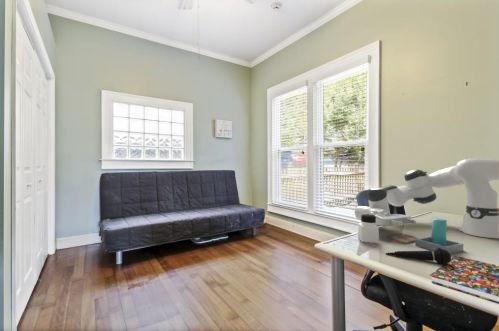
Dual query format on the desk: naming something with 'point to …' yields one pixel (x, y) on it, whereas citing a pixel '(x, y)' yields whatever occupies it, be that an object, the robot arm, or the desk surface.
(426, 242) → the caddy
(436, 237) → the canister
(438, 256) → the microphone
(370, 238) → the medicine bottle
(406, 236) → the mat
